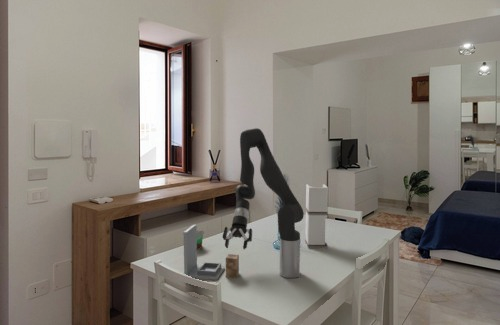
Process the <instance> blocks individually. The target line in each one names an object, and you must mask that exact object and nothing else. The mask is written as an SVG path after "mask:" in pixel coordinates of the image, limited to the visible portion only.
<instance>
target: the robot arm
mask: <svg viewBox="0 0 500 325" xmlns="http://www.w3.org/2000/svg"><path fill="white" fill-rule="evenodd" d="M239 136H240V138H239V148H240V162H241V163H240V164H241V165H240V176H239V177H240V178H239V180H240V183H241V184H239V185H237V186H236V187H235V197H236V198H235V199H236V204H235V210H234V212H233V217H232V223H231V227H230V228H229V227H227V226H225V227H224V229H223V230H224V231H223V234H222V238H223V239H222V240H224V242H225V243H224V247H225V248H226V249H229V245H230V240H231V239H233V238H239V239H240V238H242V239H243V240H244V241H243V246H242V249H243V250H246V249H247V248H248V243H249V242H252V241H253V240H252V239H253V229H252V228H249V229H247V227H248V221H249V212H250V205H251V204H250V202H249V201H248V200H253V199H254V198H255V196H256V190H255V184H254V179H255V165H254V163H253V161H252V159H251V156H250V150H251V149H252V148H257V150H258V152H259V154H260V164H259V166H260V167H259V172H260V175H261V177H262V179H263V181H264V182H265V185H266V186H267V187H268V188H269V189H270V190H271V191H272V192H274V194H276V195H277V196H278V197H279V199H280V200H281V202H282V203H283V205H280V207H279V208H278V210H277V231H278V234H279V275H280V276H281V277H283V278H286V279H287V278H288V279H294V278H300V274H301V269H300V268H301V253H300V252H301V251H300V250H301V249H300V248H301V245H300V244H301V233H300V232H299V231H298V230H296V228H295V225H296V224H297V223H300V222H301V221H302V220H303V219H304V216H305V215H304V210H303V207H302V206H301V204H300V202H299V201H298V200H297V197H296V196H295V195H294V193H293V191H292V190H291V188H290V186H289V184H288V183H287V181H286V179H285V176H284V174H283V172H282V170H281V169H280V167H279V165H278V163H277V161H276V159H275V157H274V155H273V153H272V151H271V149H270V147H269V143H268V142H267V139H266V136H265V134H264V132H263V131H262V130H261V129H260V128H257V127H255V128H250V129H245V130H242V132H240V135H239ZM246 234H248V237H247V236H246Z"/></svg>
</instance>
